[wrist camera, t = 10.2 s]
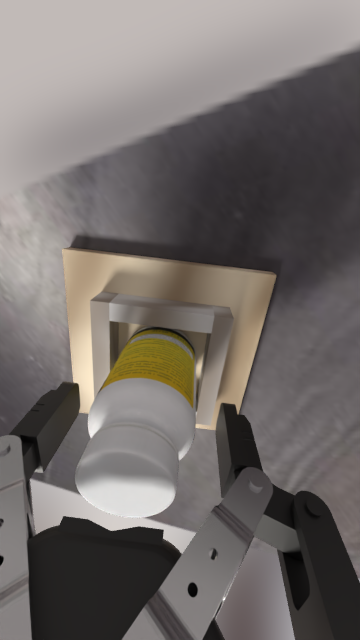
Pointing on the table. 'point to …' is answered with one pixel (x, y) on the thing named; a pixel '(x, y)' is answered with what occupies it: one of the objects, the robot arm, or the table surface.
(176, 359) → the supplement bottle
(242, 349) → the socket stand
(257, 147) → the table surface
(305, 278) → the table surface
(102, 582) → the robot arm
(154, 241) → the table surface
